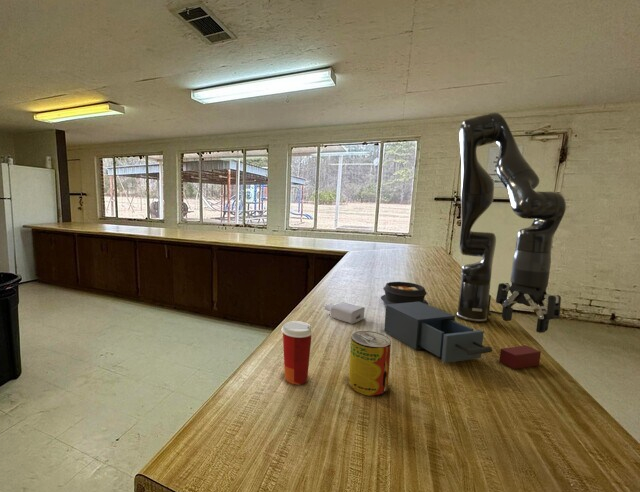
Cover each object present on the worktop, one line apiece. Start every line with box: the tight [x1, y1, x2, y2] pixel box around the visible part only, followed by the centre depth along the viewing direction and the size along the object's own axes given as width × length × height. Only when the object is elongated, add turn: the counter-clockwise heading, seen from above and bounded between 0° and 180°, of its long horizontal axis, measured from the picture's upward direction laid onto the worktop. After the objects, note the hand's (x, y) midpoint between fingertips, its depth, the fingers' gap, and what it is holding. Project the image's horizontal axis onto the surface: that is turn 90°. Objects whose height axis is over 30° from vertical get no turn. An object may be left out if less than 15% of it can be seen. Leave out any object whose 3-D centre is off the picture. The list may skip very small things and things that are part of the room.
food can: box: [348, 330, 392, 397], centre depth 77 cm, size 9×9×12 cm
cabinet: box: [383, 302, 456, 351], centre depth 104 cm, size 15×14×10 cm
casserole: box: [380, 281, 429, 306], centre depth 138 cm, size 25×19×8 cm
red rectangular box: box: [498, 344, 542, 370], centre depth 88 cm, size 9×4×4 cm, turn 104°
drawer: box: [418, 319, 493, 364], centre depth 92 cm, size 18×12×8 cm
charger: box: [322, 301, 366, 325], centre depth 124 cm, size 5×9×15 cm
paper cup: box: [280, 320, 314, 386], centre depth 80 cm, size 8×8×14 cm
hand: (522, 326), depth 87 cm, fingers open, 8 cm apart
